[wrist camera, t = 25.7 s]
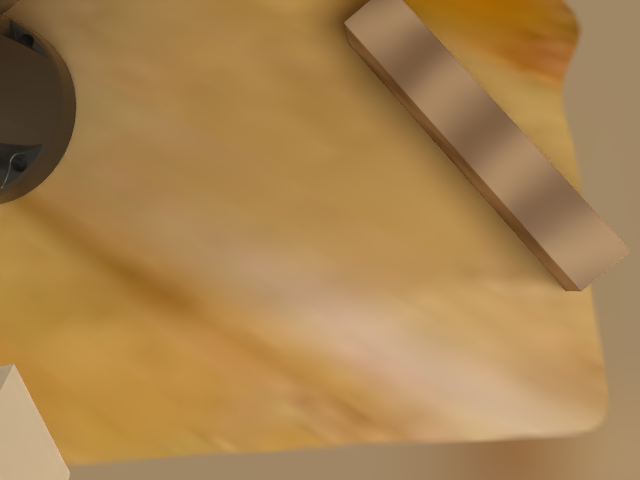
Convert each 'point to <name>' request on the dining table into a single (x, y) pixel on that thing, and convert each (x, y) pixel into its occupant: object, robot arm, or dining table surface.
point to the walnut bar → (485, 144)
